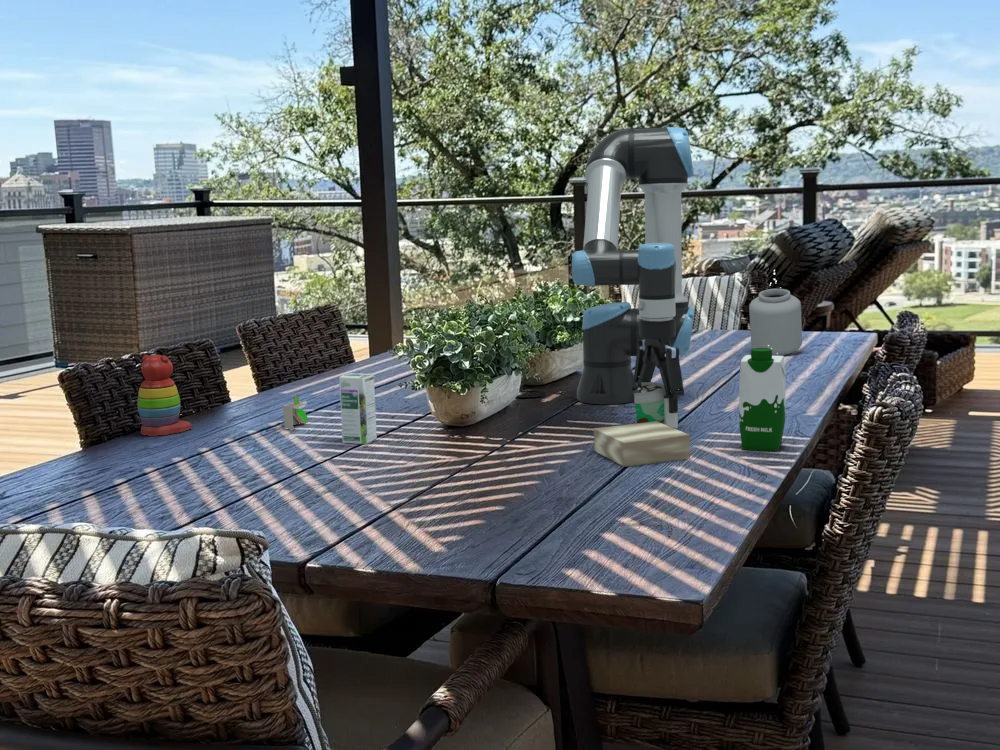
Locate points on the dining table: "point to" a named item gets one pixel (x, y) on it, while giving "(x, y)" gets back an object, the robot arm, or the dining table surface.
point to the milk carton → (762, 400)
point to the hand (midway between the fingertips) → (658, 422)
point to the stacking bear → (159, 398)
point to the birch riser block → (641, 443)
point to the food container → (650, 402)
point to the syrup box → (357, 408)
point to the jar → (776, 321)
